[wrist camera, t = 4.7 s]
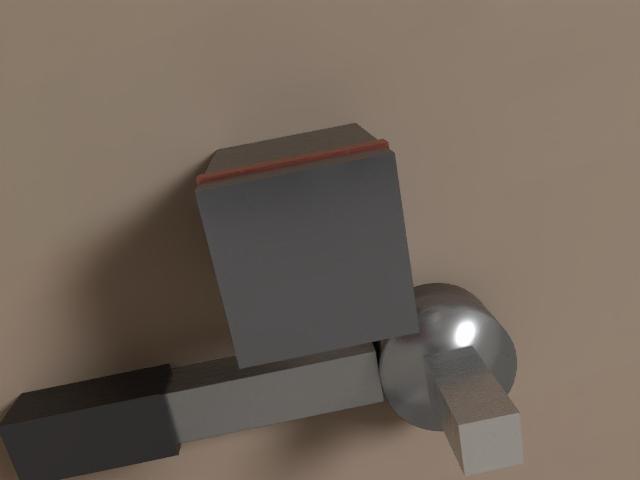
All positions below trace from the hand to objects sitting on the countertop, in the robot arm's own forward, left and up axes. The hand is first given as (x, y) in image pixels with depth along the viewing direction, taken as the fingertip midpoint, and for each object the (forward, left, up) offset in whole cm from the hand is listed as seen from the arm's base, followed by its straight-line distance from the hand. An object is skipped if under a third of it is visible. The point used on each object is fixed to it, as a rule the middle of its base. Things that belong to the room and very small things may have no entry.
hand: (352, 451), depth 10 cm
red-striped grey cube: (0, 0, -17) cm, 17 cm away
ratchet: (-3, -8, -17) cm, 19 cm away
